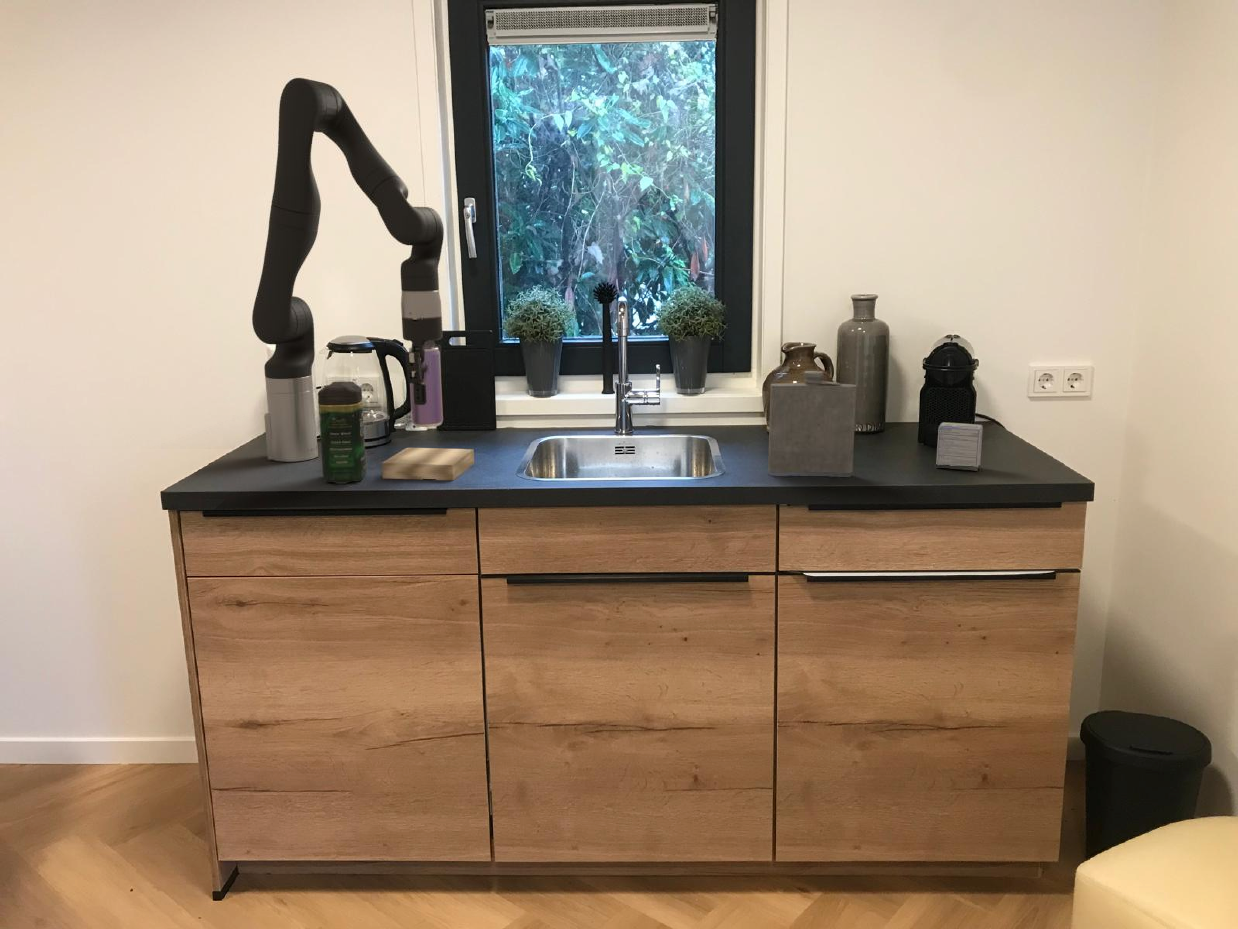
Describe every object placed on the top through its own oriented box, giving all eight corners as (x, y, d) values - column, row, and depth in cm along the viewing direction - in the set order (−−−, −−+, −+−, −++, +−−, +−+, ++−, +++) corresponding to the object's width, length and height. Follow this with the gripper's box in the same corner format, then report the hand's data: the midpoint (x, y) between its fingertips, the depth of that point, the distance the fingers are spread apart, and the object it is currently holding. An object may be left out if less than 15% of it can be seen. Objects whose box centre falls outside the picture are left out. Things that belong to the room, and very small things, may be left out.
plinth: (382, 478, 195) (381, 462, 194) (408, 461, 208) (407, 447, 208) (453, 480, 193) (452, 465, 192) (474, 463, 206) (473, 449, 206)
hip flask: (768, 476, 195) (771, 372, 190) (767, 471, 199) (770, 369, 194) (853, 478, 193) (858, 373, 188) (850, 473, 197) (855, 370, 192)
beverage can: (436, 427, 195) (432, 349, 192) (407, 426, 196) (402, 349, 193) (447, 422, 201) (444, 346, 198) (419, 421, 202) (415, 345, 199)
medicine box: (980, 467, 201) (983, 424, 199) (977, 472, 197) (981, 428, 195) (938, 464, 204) (941, 421, 202) (935, 468, 200) (938, 425, 198)
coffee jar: (363, 484, 191) (356, 385, 186) (320, 485, 190) (312, 386, 186) (370, 472, 200) (364, 378, 196) (329, 473, 199) (322, 379, 195)
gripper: (415, 311, 201) (420, 395, 205) (389, 317, 187) (394, 407, 191) (452, 311, 200) (456, 396, 204) (428, 317, 186) (432, 408, 190)
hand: (426, 401), depth 198 cm, fingers closed on beverage can, 6 cm apart
